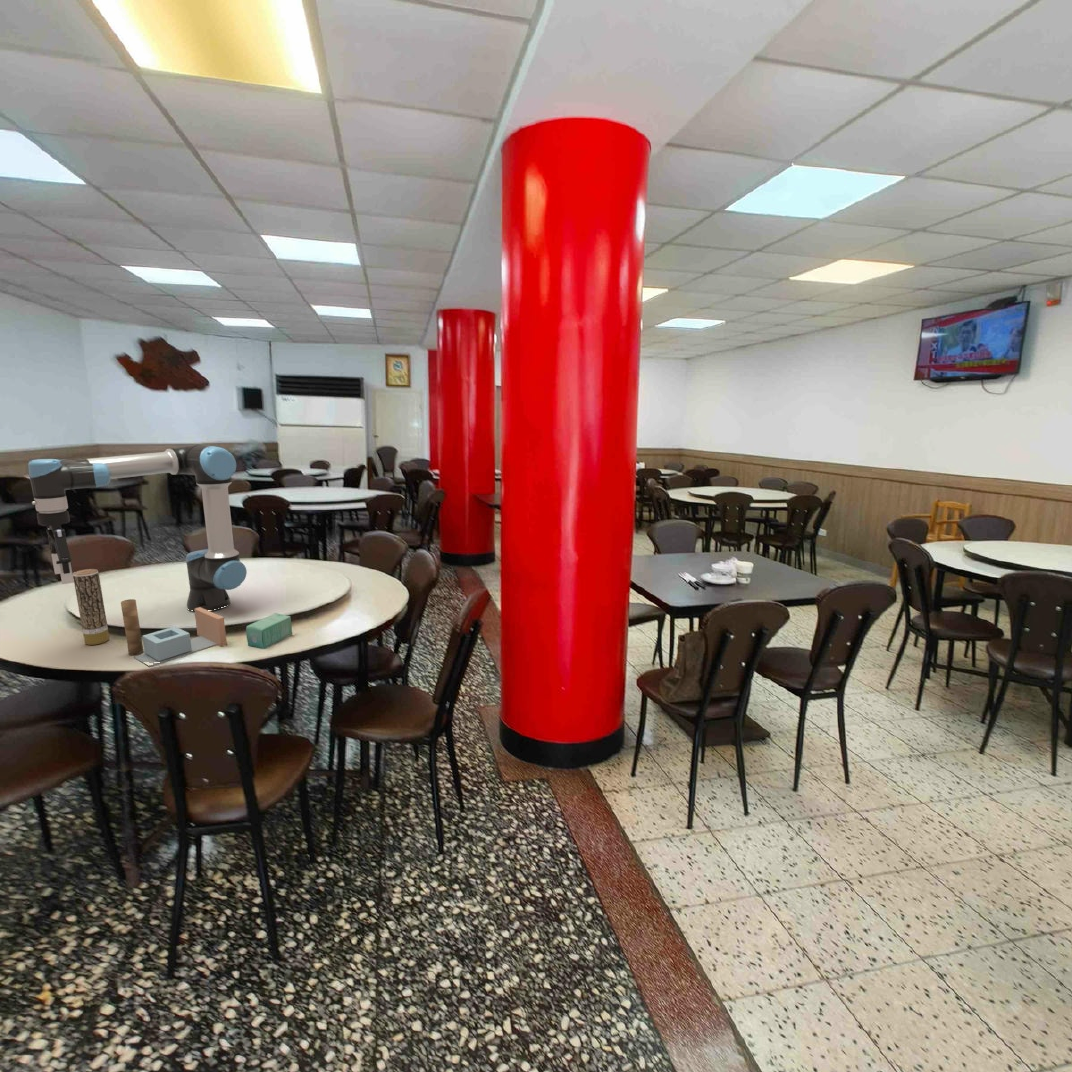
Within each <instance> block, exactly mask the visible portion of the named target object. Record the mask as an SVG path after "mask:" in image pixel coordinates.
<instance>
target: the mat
mask: <svg viewBox="0 0 1072 1072" xmlns="http://www.w3.org/2000/svg"><path fill="white" fill-rule="evenodd" d="M190 640H191V648H192V650H191V651H188V652H185V653H182V654H179V655H176V656H173V657H170V658H167V659H164V660H161V661H158V660H156V659H154V658H153V657H151V656H149V655H148V654H146V653H145V652H143V653H142V654H139V655H135V656H134V657H133V659H135V660H136V661H138V662H140V663H142V662H149V663H153V665H149V666H147V667H148V668H151V667H150V666H152V667H155V666H157V665H160V664H164V663H166V662H170V661H174V660H176V659H178V658H182V657H185V656H188V655H191V654H194V653H197V652H201V651H202V650H203V651H204V650H207V649H210V648H212V647H215V646H218V645H217V644H216V643H214V642H212V641H210V640H208V639H206V638H204V637H202V636H196V637H193V638H190ZM154 662H160V663H154ZM154 665H155V666H154Z"/></svg>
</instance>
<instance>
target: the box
mask: <svg viewBox="0 0 1072 1072" xmlns="http://www.w3.org/2000/svg"><path fill="white" fill-rule="evenodd" d="M291 620H292V618H291V616H290V615H285V614H282V613H278V612H275V613H273V614H271V615H269V616H266V617H263V618H262V619H260V620H257V621H254V622H253V623H250V624H249V625H247V626H245V627H246V628H245V633H246V641H247V646H250V647H254V648H259V649H263V650H264V649H268V648H269V647H271V646H273V645H275V644H277V643H279V642H280V641H283V640H285V639H287V638H288V637H290V636H291V635H293V628H292V621H291Z"/></svg>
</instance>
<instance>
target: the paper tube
mask: <svg viewBox="0 0 1072 1072" xmlns="http://www.w3.org/2000/svg"><path fill="white" fill-rule="evenodd" d="M99 572H100V571H99V570H98V569H96V568H95V569H94V568H89V569H88V568H87V569H80V570H77V571H74V572H72V574H73V580H74V589H75V595H76V601H77V606H78V607H77V608H78V612H79V618H80V622H81V629H82V635H83V640H84V643H85V644H86V645H88V646H95V645H100V644H103V643H106V642H107V641H109V639H110V634H109V628H108V627H109V626H108V622H107V615H106V610H105V603H104V598H103V592H102V584H101V578H100V573H99Z"/></svg>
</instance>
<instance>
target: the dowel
mask: <svg viewBox="0 0 1072 1072" xmlns="http://www.w3.org/2000/svg"><path fill="white" fill-rule="evenodd" d="M120 606H121V612H122V619H123V625H124V627H123V628H124V632H125V633H124V634H125V639H126V644H127V652H128V655H129V656H134V657H135V656H138V655H141V654H144V645H143V638H142V632H141V627H140V620H139V613H138V605H137V600H136V599H134V598H133V599H130V598H129V599H125V600H122V601H120Z"/></svg>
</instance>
